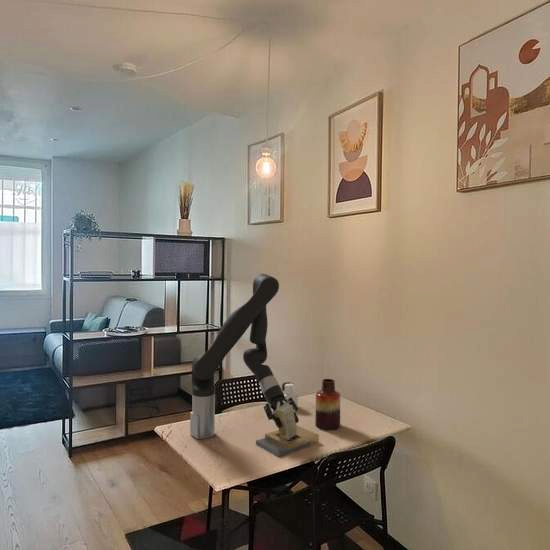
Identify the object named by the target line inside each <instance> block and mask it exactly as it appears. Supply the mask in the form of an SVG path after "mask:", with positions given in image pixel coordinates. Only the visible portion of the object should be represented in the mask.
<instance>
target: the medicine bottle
mask: <svg viewBox="0 0 550 550" xmlns="http://www.w3.org/2000/svg"><path fill="white" fill-rule="evenodd" d="M281 389H282V391H283V393H284V397H285V399H286V400H287V399H289V398H290V397H291V398H292V399H293V401H294V402H295V404H296V406H297V407H298V400H299V399H298V398H299V397H298V393H297V392H295V384H294V383H293V382H290V381H289V382H288V381H287V382H283V383H282V384H281ZM287 404H288V403H287ZM294 409H295V408H294Z"/></svg>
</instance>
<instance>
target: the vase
mask: <svg viewBox="0 0 550 550" xmlns="http://www.w3.org/2000/svg"><path fill="white" fill-rule="evenodd" d="M335 381H336V380H334V379H332V378H323V379H322V382H321V389H320V390H318V391H316V393H315V423H314V424H315V427H316V428H317V429H318V430H319V429H320V430H321V431H322V430H323V431H327V432H328V431H330V432H331V431H337V430H339V429H340V427H341V398H342V397H341V393H340V392H339V391H337V390H336V384H335V383H336V382H335Z"/></svg>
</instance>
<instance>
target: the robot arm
mask: <svg viewBox="0 0 550 550" xmlns="http://www.w3.org/2000/svg"><path fill="white" fill-rule="evenodd" d="M279 289H280V283H279V280H277V279H276V278H275V277H273V276H271V275H269V274H266V273H260V274H259V273H258V275H256V277H254V279H253V283H252V296H251V297H250V298H249V299H248V300H247V301H246V302H245V303H244V304H242V305H241V306H239V307H238V308H237V309H235V310H234V311H233V312H231V313H230V315H229V316H228V317H227V318H226V320H225V321H224V323H223V324H222V325H221V326H220V327H221V328H220V329H219V331H218V333H217V335H216V336H215V339H214V341H213V343H212V344H211V346H210V347H209V348H208V349H207V351H206V352H205V353H200V354H197V355H196V356H195V357H194V358H193V360H192V363H191V388H192V394H191V395H192V401H191V403H192V407H191V408H192V409H191V410H192V411H190V416H189V417H190V418H189V421H190V423H189V425H190V427H189V433H190V436H192V437H193V438H195V439H197V440H200V439H203V440H204V439H210V438H212V437H214V436H215V431H216V430H215V429H216V428H215V426H216V425H215V424H216V422H215V421H216V417H215V416H216V415H215V413H216V412H215V411H216V386H215V374H216V372H217V371H218V369H219V368H220V366H221V364H222V362H223V360H224V359H225V357H226V356H228V354H229V353H230V351H231V350H232V348H234V346H235V345H236V344H237V343H238V341H239V340H240V339H241V338H242V337H243V335H244V334H245V333H246V332H247V330H248V328H250V332H249V342H250V343H251V344H253V345H256V346H255V348H248V349H245V350H244V352H243V355H242V358H243V359H242V360H243V362H244V364H245V366H246V367H247V368H248V370H250V371H251V373H252V374H253V375H254V376H255V379H256V380H257V383H258V384H259V386H260V389H261V391H262V393H263V396H264V399H265V400H266V402H267V403H265V404H264V405H263V409H264V412H265V414H266V417H267V419H268V420H269V421H270V420H272V421H273V422H274V424H275V426H276V427H277V428H278V429H279V428H281V427H282V423H281V421H280V419H279V417H278V416H277V414H276V409H278V408H279V407H280V406H282V405H283V404H287V403H288V404H289V405H293V411H294V417H295V423H296V424H297V423H299V422H300V421H299V420H300V419H299V417H298V415H297V412H298V410H299V407H298V405H297V406H296V404H295V402H294V401H293V399H292V398H291V397H290V398H289V399H287V400H286V399H285V397H284V393H283V391H282V386H281V385H280V383H279V382H278V381H279V380H278V379H277V378H276V377H275V375H274V373H273V371H272V369H271V367H270V366H269V365H267V364H264V363H265V362H266V361H267V359H268V348H267V340H266V339H267V333H268V314H267V305H268V304H269V303H270V302H271V301H272V299H274V297H276V295H277V293H278V292H279ZM294 408H295V409H294Z"/></svg>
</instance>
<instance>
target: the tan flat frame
mask: <svg viewBox="0 0 550 550" xmlns="http://www.w3.org/2000/svg"><path fill="white" fill-rule="evenodd" d="M296 429H297V434H296V435H294V436H293V437H292V438H291V439H290V440H289V441H288V440H285V439H282V438H280V434H279V429H277V430H274V431H273V430H272V431H270V432H267V433H265V434H264V437H262V438H260V439H257V440H255V445H256V446H259V448H261V449H263V448H264V450H266V451H268V452H269V453H270V454H272V453H273V455H274V454H275V455H274V456H276V457H279V456H280V457H282V455H283V456H285V454H286V455H288V454H291V453H293V452H296V451H298V450H302V449H305V448H307V446H308V447H310V446H314V445H315V443H316V444H318V442H319V443H320V441H319V440H320V436H319V435H320V434H318V433H315V432H313V431H310V430H308V429H306V428H304V427H303V426H299V425H297V424H296ZM280 457H279V458H280Z"/></svg>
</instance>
